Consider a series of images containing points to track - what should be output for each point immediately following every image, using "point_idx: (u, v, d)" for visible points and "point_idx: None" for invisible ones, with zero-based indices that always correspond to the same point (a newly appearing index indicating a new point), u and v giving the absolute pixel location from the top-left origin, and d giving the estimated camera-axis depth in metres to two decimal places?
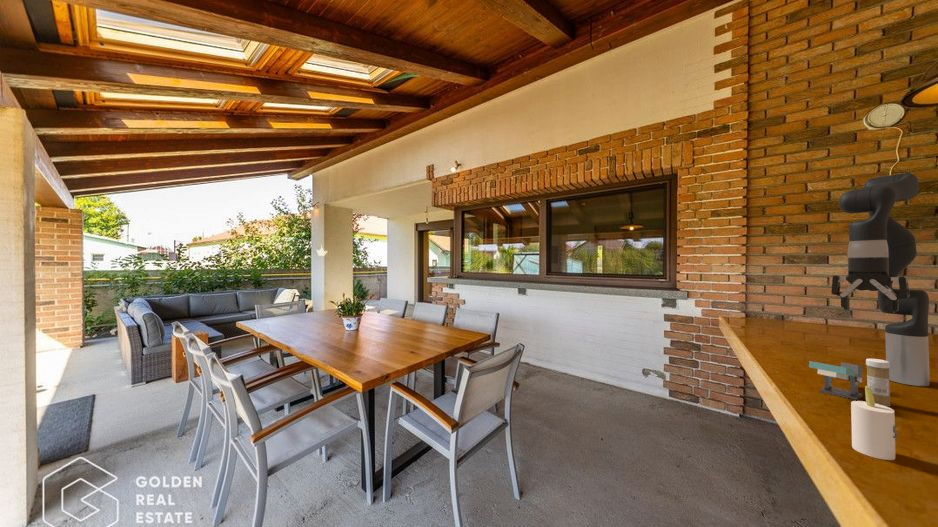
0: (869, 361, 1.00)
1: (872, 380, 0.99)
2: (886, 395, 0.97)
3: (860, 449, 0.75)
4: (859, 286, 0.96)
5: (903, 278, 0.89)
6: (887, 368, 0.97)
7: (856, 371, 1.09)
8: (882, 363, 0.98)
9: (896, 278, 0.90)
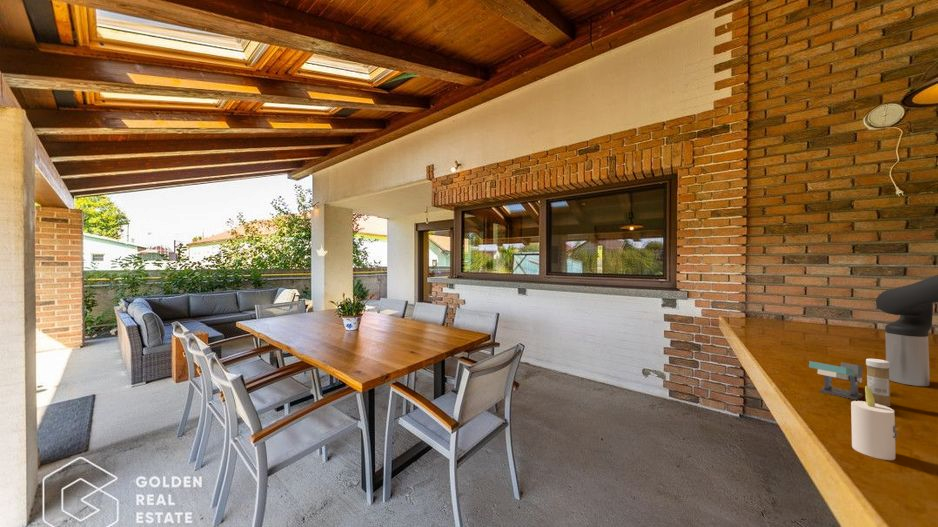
0: (869, 361, 1.00)
1: (872, 380, 0.99)
2: (886, 395, 0.97)
3: (860, 449, 0.75)
4: None
5: None
6: (887, 368, 0.97)
7: (856, 371, 1.09)
8: (882, 363, 0.98)
9: None
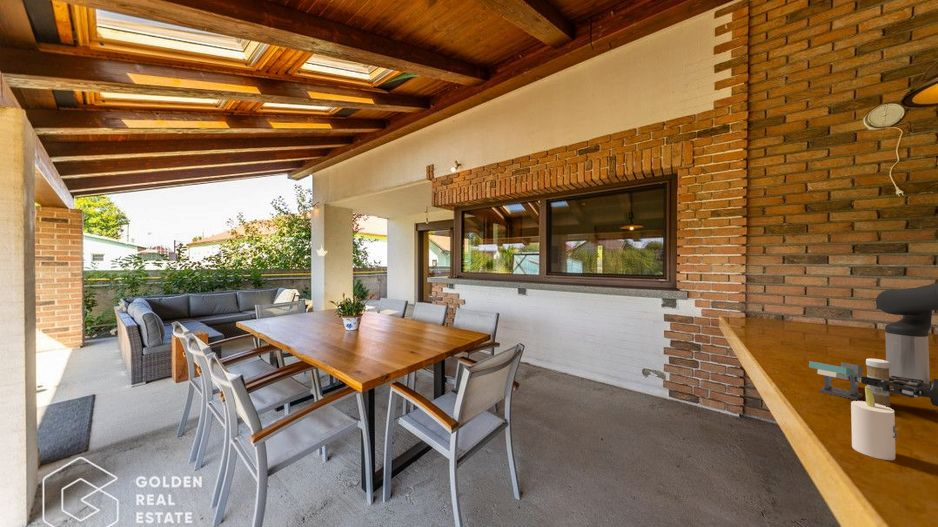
0: (869, 361, 1.00)
1: None
2: (886, 395, 0.97)
3: (860, 449, 0.75)
4: None
5: None
6: (887, 368, 0.97)
7: (856, 371, 1.09)
8: (882, 363, 0.98)
9: None
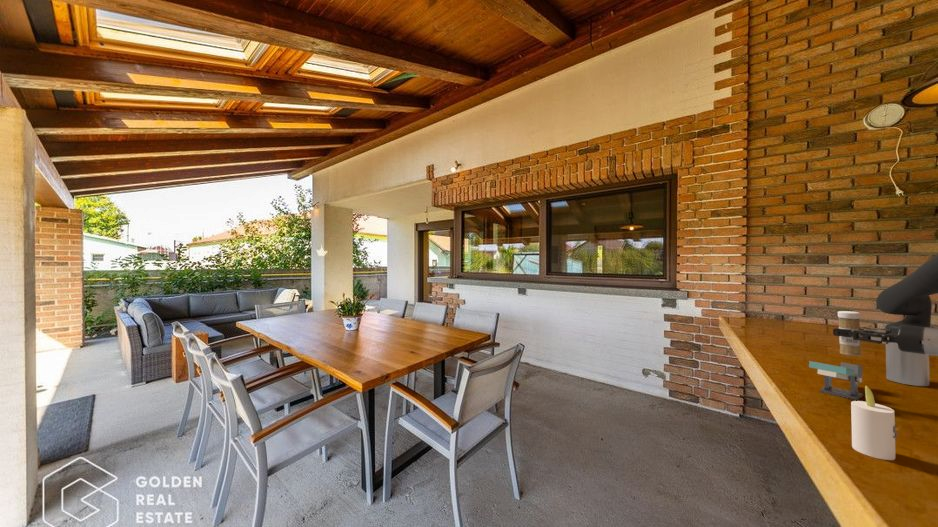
0: (840, 313, 1.02)
1: None
2: (857, 345, 0.99)
3: (860, 449, 0.75)
4: None
5: None
6: (857, 318, 0.99)
7: (856, 371, 1.09)
8: (852, 314, 0.99)
9: None
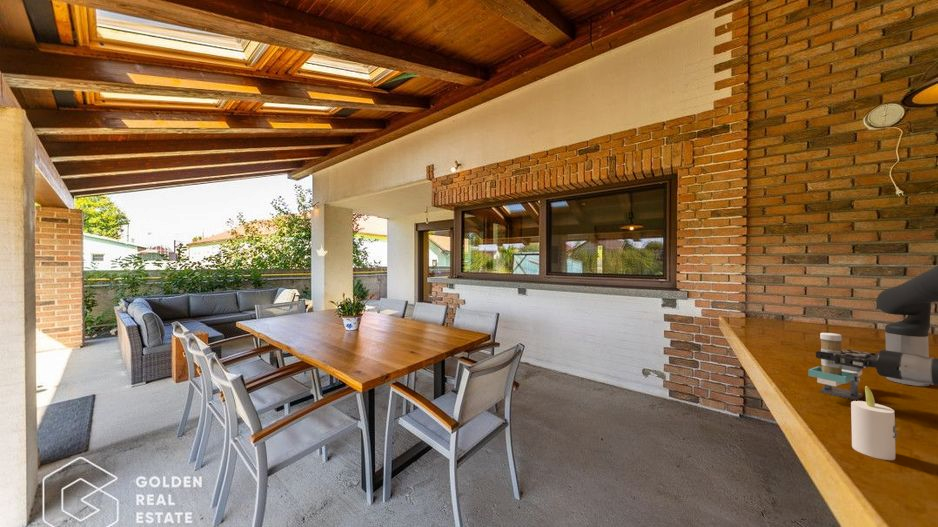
0: (823, 334, 1.03)
1: None
2: (838, 367, 1.01)
3: (860, 449, 0.75)
4: None
5: None
6: (839, 341, 1.01)
7: None
8: (834, 336, 1.01)
9: None
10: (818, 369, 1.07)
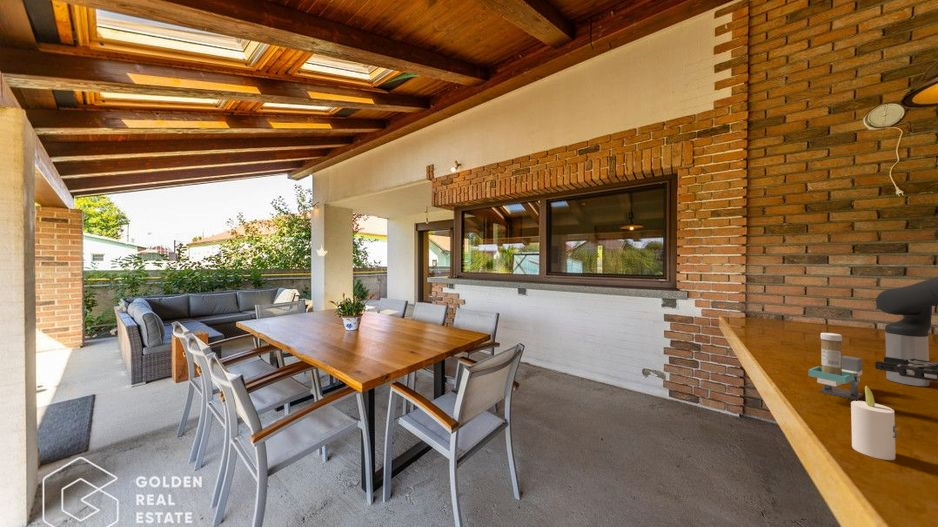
0: (823, 334, 1.03)
1: (826, 353, 1.02)
2: (838, 367, 1.01)
3: (860, 449, 0.75)
4: None
5: None
6: (839, 341, 1.01)
7: (856, 366, 1.09)
8: (835, 336, 1.01)
9: None
10: (818, 369, 1.07)
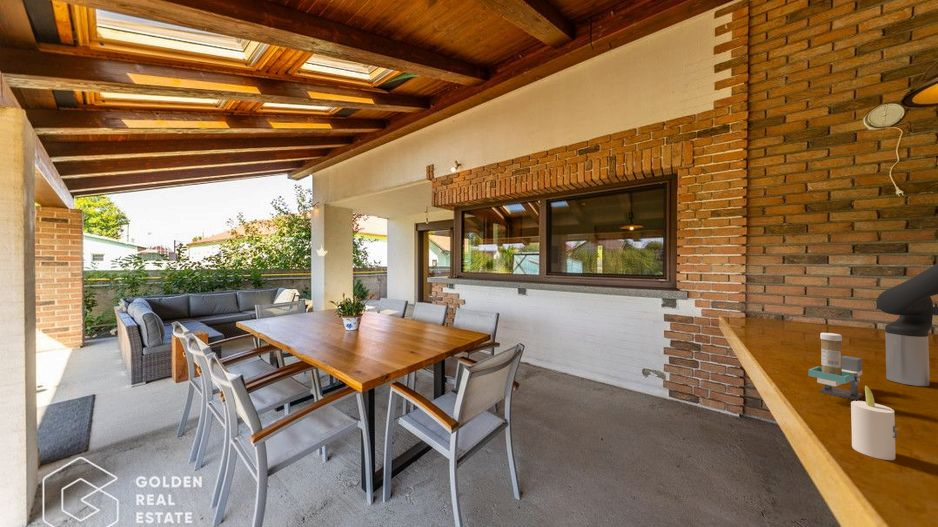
0: (823, 334, 1.03)
1: (826, 353, 1.02)
2: (838, 367, 1.01)
3: (860, 449, 0.75)
4: None
5: None
6: (839, 341, 1.01)
7: (856, 366, 1.09)
8: (835, 336, 1.01)
9: None
10: (818, 369, 1.07)
